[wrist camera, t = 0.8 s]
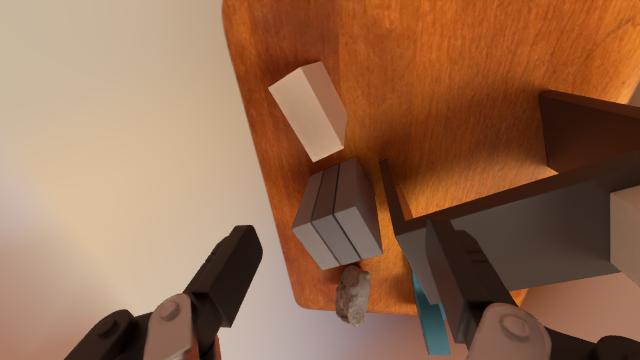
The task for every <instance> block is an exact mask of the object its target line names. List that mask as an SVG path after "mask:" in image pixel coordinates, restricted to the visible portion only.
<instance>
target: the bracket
mask: <svg viewBox="0 0 640 360" xmlns="http://www.w3.org/2000/svg"><path fill="white" fill-rule="evenodd" d="M410 269H411V276H412V282H413V289H414V295H415V302H416V307H417V311H418V315H419V319H420V323H421V328H422V332H423V336H424V340H425V344H426V348H427V351H428V354H429V355H450V348H449V342H448V337H447V333H446V328H445V324H444V321H443V319H447V318H446V315H445V312H444V309H443V306H442V303H438V304H433V305H431V304H430V303H429V301H428V299H427V297H426V295H425V293H424V291H423V289H422V287H421V285H420V284H419V282H418V280H417V278H416V276H415V274H414V272H413V270H412V268H411V266H410Z"/></svg>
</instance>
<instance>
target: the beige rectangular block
mask: <svg viewBox="0 0 640 360" xmlns="http://www.w3.org/2000/svg"><path fill="white" fill-rule="evenodd" d="M268 89H269V91H270V92H271V94H272V95H273V97H274V99H275V100H276V102H277V104H278V105H279V107H280V109H281V110H282V112H283V113H284V115H285V117H286V118H287V120H288V122H289V123H290V125H291V127H292V128H293V130H294V132H295V133H296V135H297V136H298V138H299V140H300V141H301V143H302V145H303V146H304V148H305V150H306V151H307V153H308V154H309V156H310V158H311V159H312V161H313V162H315V161H317V160H319V159H322V158H324V157H326V156H328V155H330V154H332V153H335V152H337V151H339V150H341V149H343V148H344V140H345V131H346V123H347V112H346V110H345V108H344V106H343V103H342V101H341V99H340V97H339V95H338V93H337V91H336V89H335V87H334V85H333V83H332V81H331V79H330V77H329V75H328V73H327V71H326V69H325V67H324V65H323V63H322V61H319V62H316V63H312V64H309V65H306V66H302V67H299V68H298V69H296V70H295V71H293V72H292V73H290V74H289V75H287V76H285V77H284V78H282V79H281V80H279V81H278V82H276V83H275V84H273V85H272V86H270V87H269V88H268Z"/></svg>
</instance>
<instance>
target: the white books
mask: <svg viewBox="0 0 640 360" xmlns="http://www.w3.org/2000/svg"><path fill="white" fill-rule="evenodd" d="M610 262H611V263H612V264H613V265H614V266H615V267H617V268H618V269H619V270H620V271H621V272H623V273H624V274H625V275H626V276H627V277H629V278H630V279H631V280H632V281H634V282H635V283H636V284H637V285H638V286H639V287H640V185H638V186H634V187H631V188H627V189H623V190H619V191H616V192H612V193H610Z"/></svg>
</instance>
